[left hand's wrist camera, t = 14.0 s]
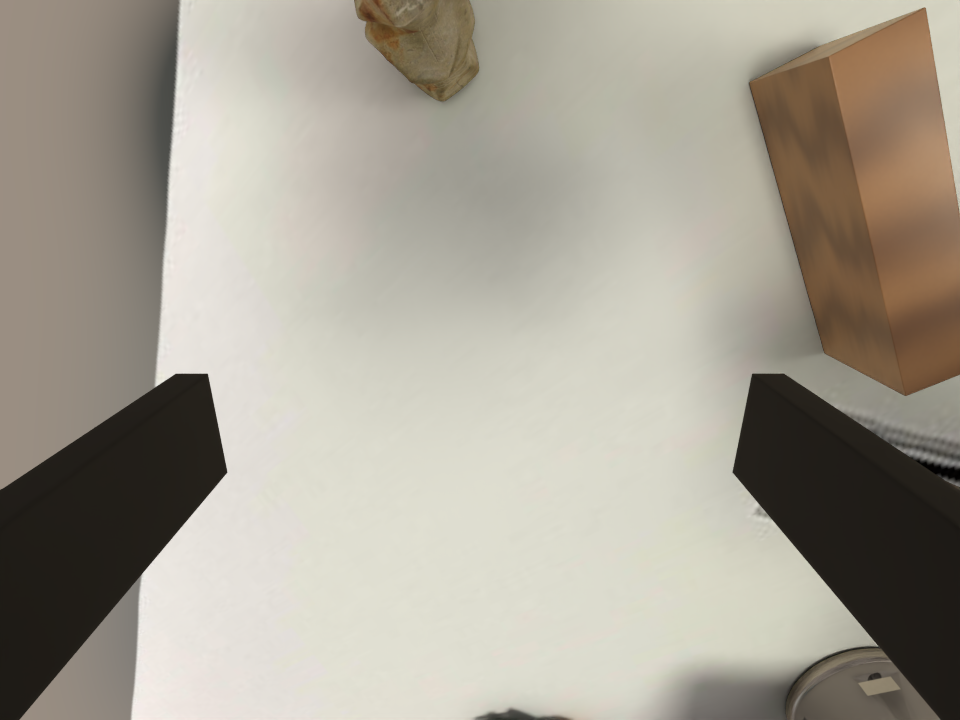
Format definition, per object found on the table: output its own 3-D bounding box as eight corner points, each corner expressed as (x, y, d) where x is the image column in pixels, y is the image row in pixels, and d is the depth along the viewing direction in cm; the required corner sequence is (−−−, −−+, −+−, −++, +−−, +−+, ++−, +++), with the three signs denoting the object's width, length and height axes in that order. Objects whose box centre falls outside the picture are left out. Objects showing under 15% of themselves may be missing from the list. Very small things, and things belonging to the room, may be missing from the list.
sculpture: (433, -33, 33) (399, -181, 19) (495, 69, 36) (504, 2, 21) (364, 26, 35) (285, -74, 21) (427, 122, 37) (395, 91, 23)
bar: (748, 82, 36) (828, 56, 28) (821, 45, 35) (926, 6, 27) (824, 353, 43) (905, 396, 35) (886, 327, 42) (984, 365, 34)
